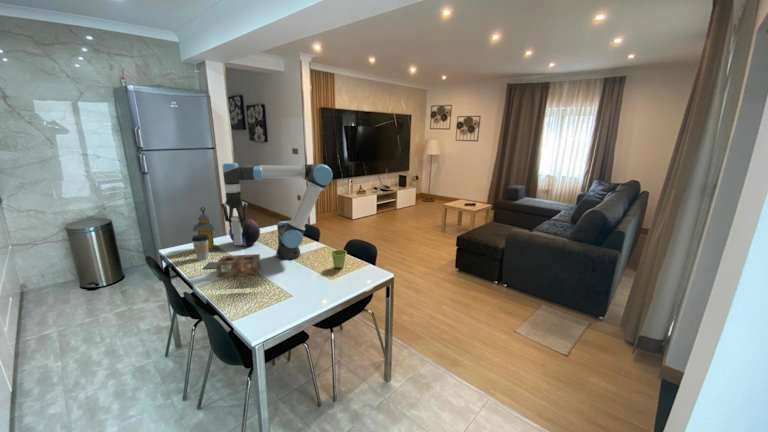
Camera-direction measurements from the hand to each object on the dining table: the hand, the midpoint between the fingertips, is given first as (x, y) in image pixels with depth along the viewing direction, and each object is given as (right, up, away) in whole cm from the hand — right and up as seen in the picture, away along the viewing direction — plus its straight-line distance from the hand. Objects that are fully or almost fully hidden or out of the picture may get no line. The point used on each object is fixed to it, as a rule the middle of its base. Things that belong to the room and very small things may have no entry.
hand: (237, 232), depth 171 cm
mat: (-18, -20, +10) cm, 29 cm away
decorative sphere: (-17, -12, +47) cm, 52 cm away
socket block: (+1, -22, +2) cm, 22 cm away
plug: (0, -6, +1) cm, 7 cm away
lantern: (-38, -14, +36) cm, 54 cm away
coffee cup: (-32, -18, +21) cm, 42 cm away
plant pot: (+55, -21, +14) cm, 61 cm away
